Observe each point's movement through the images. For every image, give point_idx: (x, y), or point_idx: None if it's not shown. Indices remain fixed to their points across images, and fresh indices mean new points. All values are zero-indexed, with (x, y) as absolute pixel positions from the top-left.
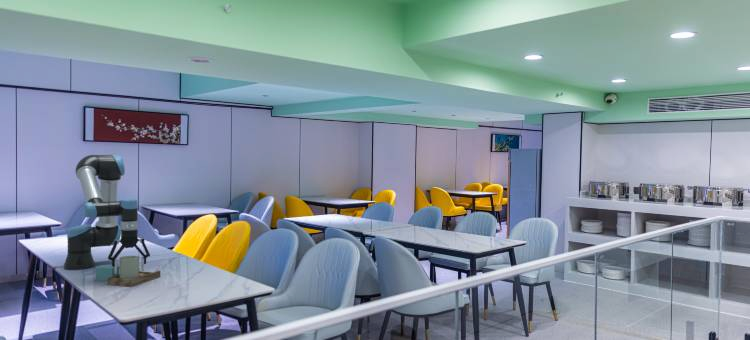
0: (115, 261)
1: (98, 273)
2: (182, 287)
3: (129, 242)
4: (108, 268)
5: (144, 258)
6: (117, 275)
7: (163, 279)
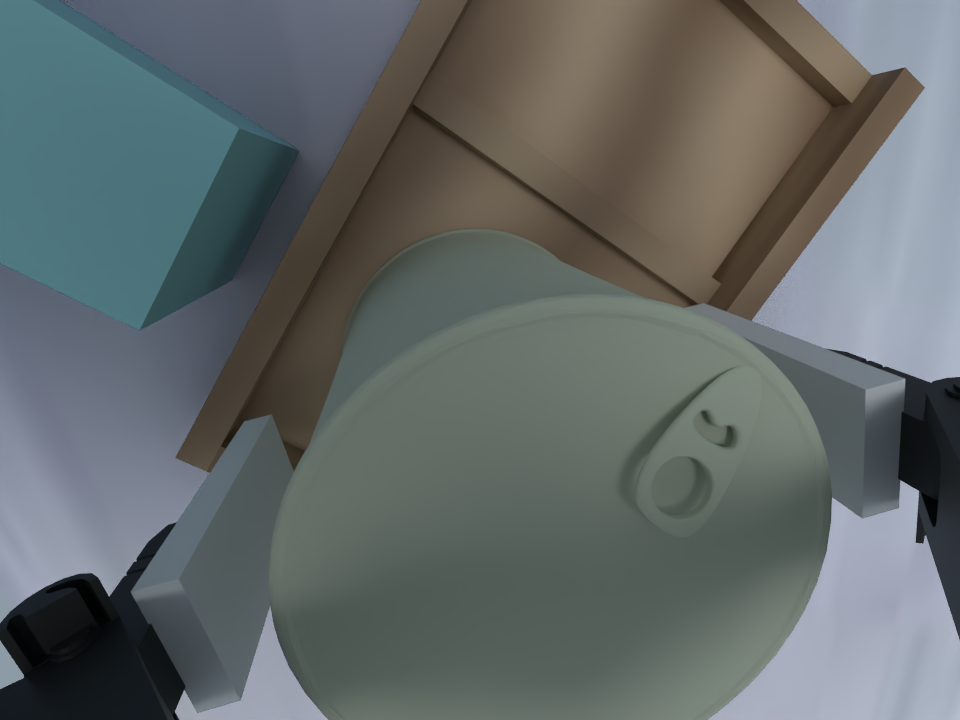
0: (220, 690)
1: None
2: (940, 623)
3: None
4: (37, 278)
5: (908, 467)
6: (285, 297)
7: (852, 277)
